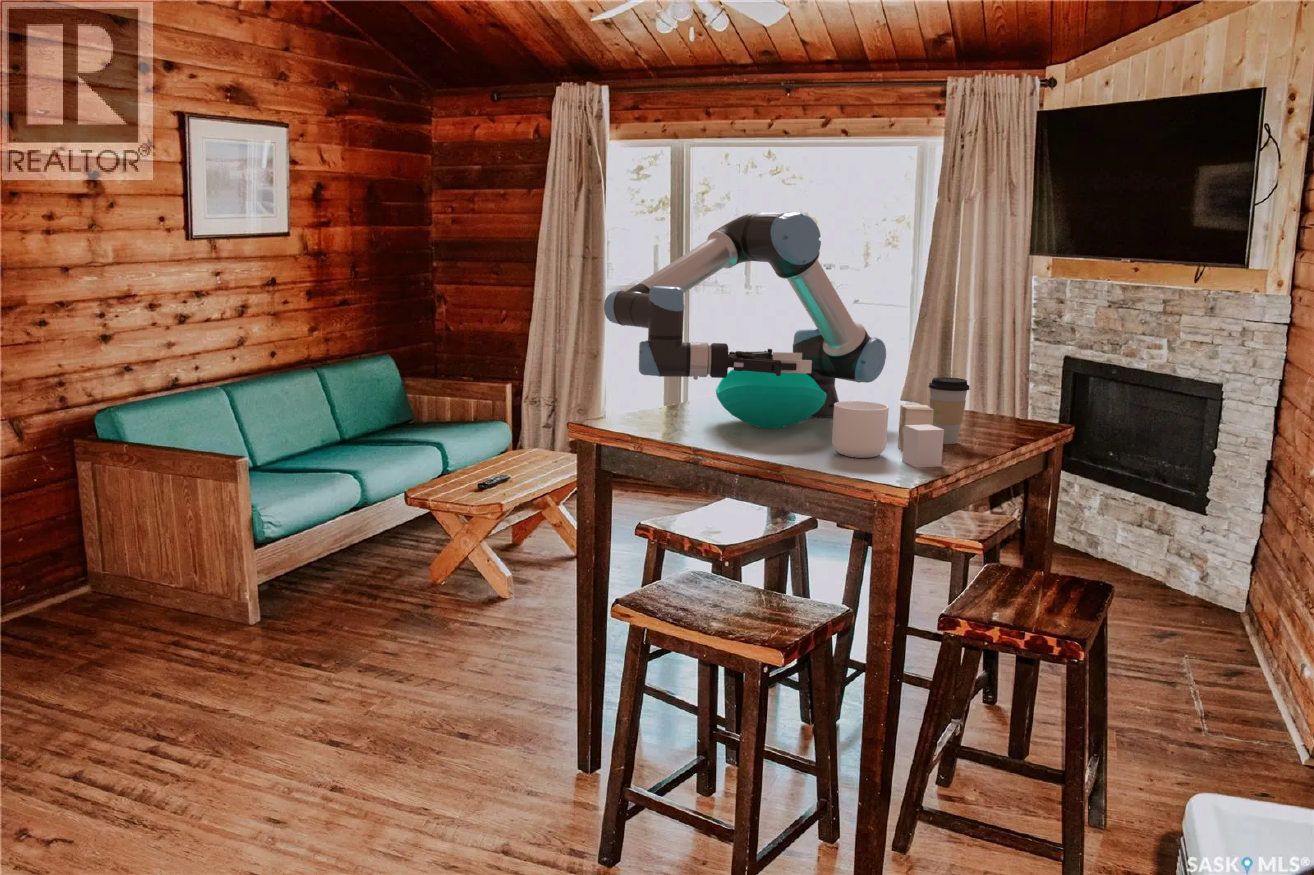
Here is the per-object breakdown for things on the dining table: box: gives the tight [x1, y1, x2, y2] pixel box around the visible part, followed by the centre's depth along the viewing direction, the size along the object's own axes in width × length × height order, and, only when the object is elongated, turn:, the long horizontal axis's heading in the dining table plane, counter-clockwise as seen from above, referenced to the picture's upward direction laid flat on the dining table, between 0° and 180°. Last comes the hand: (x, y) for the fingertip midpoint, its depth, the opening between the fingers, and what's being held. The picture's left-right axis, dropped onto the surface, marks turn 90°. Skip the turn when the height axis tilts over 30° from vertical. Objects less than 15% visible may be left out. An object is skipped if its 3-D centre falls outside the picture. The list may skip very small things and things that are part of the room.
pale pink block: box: [901, 424, 944, 468], centre depth 222 cm, size 6×6×8 cm
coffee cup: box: [928, 376, 971, 445], centre depth 246 cm, size 9×9×15 cm
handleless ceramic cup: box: [831, 400, 890, 459], centre depth 230 cm, size 12×12×11 cm
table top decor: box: [715, 368, 827, 429], centre depth 261 cm, size 40×28×13 cm
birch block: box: [897, 404, 934, 452], centre depth 236 cm, size 6×6×10 cm
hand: (806, 362), depth 226 cm, fingers open, 13 cm apart
